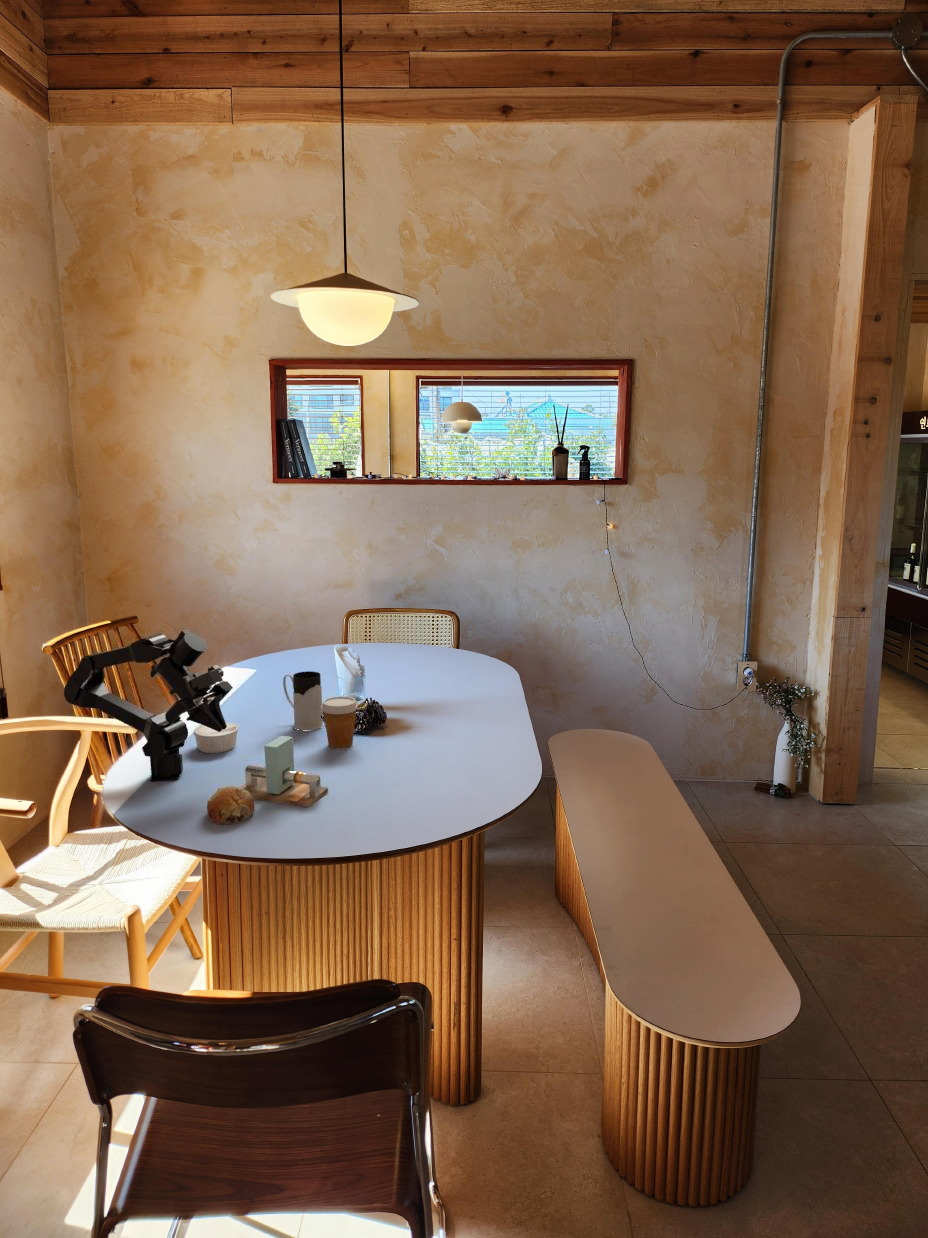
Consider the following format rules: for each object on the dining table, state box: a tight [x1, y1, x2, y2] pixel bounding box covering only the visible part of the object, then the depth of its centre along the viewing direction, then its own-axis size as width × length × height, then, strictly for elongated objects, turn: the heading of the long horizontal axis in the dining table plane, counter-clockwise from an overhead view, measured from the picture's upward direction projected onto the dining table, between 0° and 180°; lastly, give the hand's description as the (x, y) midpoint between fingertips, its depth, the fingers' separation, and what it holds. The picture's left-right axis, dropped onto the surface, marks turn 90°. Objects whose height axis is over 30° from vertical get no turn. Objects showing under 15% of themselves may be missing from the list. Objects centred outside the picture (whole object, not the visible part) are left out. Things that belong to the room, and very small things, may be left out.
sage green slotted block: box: [264, 735, 295, 794], centre depth 188 cm, size 3×7×11 cm, turn 161°
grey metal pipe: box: [244, 764, 322, 797], centre depth 188 cm, size 18×3×5 cm, turn 71°
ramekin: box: [193, 721, 239, 754], centre depth 218 cm, size 11×11×5 cm
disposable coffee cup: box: [321, 696, 358, 750], centre depth 219 cm, size 10×10×12 cm
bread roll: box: [206, 785, 255, 825], centre depth 178 cm, size 10×10×8 cm
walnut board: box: [239, 777, 329, 808], centre depth 189 cm, size 19×9×1 cm, turn 71°
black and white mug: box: [282, 670, 324, 731], centre depth 235 cm, size 9×14×15 cm, turn 53°
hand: (223, 729), depth 191 cm, fingers closed
